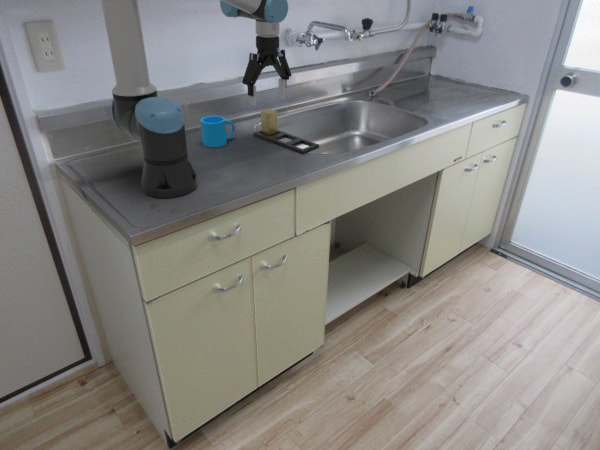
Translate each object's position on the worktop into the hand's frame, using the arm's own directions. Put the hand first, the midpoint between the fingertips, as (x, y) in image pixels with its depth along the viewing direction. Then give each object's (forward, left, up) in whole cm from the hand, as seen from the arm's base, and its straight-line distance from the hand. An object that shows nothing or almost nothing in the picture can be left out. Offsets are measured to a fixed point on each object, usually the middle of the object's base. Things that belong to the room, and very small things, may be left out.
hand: (267, 101), depth 156 cm
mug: (-16, +8, -13) cm, 22 cm away
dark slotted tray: (0, -8, -12) cm, 15 cm away
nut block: (0, 0, -12) cm, 12 cm away
